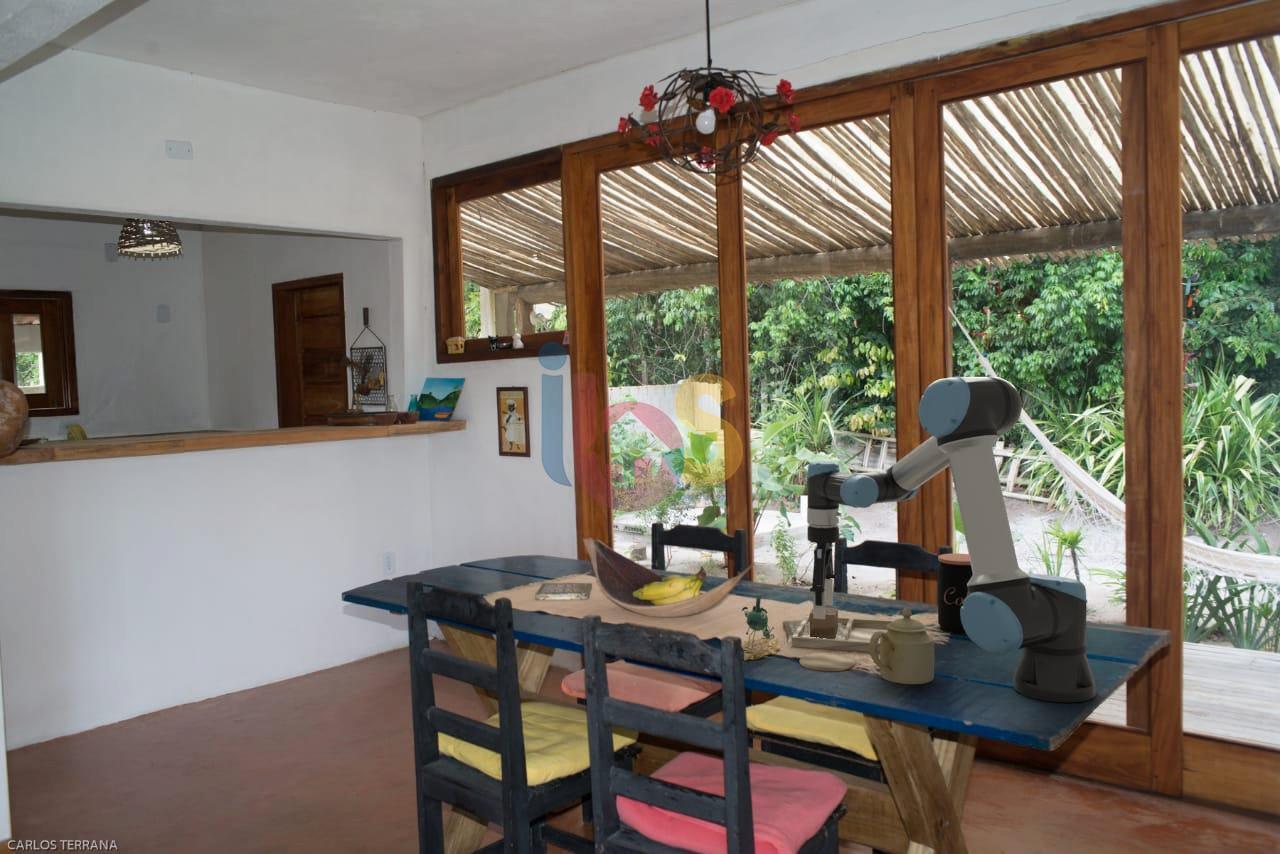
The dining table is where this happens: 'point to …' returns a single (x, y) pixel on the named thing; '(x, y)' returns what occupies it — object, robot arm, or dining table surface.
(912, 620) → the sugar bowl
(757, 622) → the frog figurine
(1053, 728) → the dining table surface
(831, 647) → the tray
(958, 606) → the coffee jar
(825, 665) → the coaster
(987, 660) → the dining table surface
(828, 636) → the letter cube
